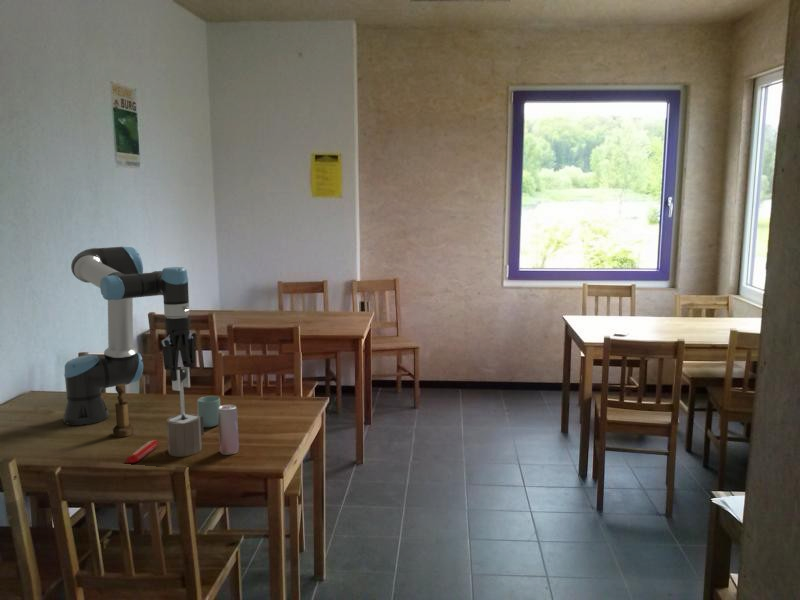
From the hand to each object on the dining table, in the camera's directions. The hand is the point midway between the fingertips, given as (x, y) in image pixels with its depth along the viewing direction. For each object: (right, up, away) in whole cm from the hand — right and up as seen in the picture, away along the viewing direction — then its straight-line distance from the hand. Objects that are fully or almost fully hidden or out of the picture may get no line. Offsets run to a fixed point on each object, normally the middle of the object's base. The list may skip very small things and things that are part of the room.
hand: (181, 388), depth 203 cm
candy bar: (-12, -22, 0) cm, 25 cm away
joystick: (0, -13, +2) cm, 13 cm away
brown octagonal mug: (+1, -21, +4) cm, 21 cm away
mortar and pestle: (-27, -19, +19) cm, 38 cm away
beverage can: (+15, -21, +2) cm, 26 cm away
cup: (+1, -17, +27) cm, 32 cm away
